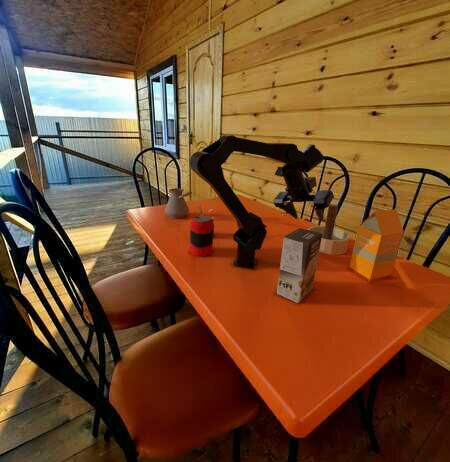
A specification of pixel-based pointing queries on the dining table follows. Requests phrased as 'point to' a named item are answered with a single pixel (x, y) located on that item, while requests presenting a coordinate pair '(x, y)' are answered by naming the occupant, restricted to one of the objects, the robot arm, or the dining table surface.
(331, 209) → the brown rectangular block
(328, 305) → the dining table surface
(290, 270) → the coffee box
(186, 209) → the coffee pot
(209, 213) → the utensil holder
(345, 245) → the bowl
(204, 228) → the soda can
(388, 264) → the orange juice
